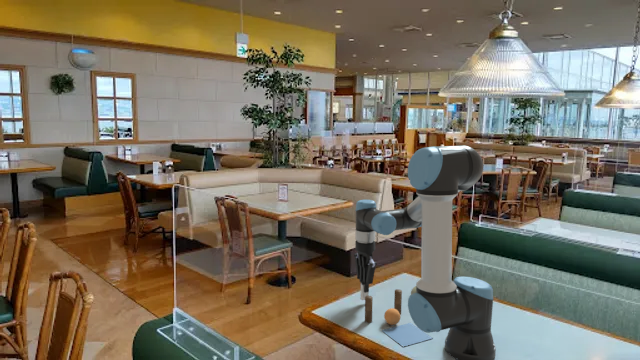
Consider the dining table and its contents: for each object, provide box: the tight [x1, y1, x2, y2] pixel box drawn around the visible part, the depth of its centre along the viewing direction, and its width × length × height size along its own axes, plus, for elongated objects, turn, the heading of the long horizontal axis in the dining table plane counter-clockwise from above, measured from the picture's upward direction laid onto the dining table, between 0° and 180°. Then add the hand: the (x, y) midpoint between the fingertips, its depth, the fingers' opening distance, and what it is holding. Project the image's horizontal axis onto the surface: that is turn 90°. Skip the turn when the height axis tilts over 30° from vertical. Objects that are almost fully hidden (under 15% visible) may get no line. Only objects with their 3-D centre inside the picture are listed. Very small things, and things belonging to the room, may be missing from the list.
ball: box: [383, 307, 401, 326], centre depth 159 cm, size 6×6×6 cm
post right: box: [393, 289, 403, 316], centre depth 167 cm, size 3×3×9 cm
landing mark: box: [381, 322, 433, 348], centre depth 152 cm, size 12×12×1 cm
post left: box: [364, 295, 374, 324], centre depth 161 cm, size 3×3×9 cm
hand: (364, 298), depth 176 cm, fingers closed
